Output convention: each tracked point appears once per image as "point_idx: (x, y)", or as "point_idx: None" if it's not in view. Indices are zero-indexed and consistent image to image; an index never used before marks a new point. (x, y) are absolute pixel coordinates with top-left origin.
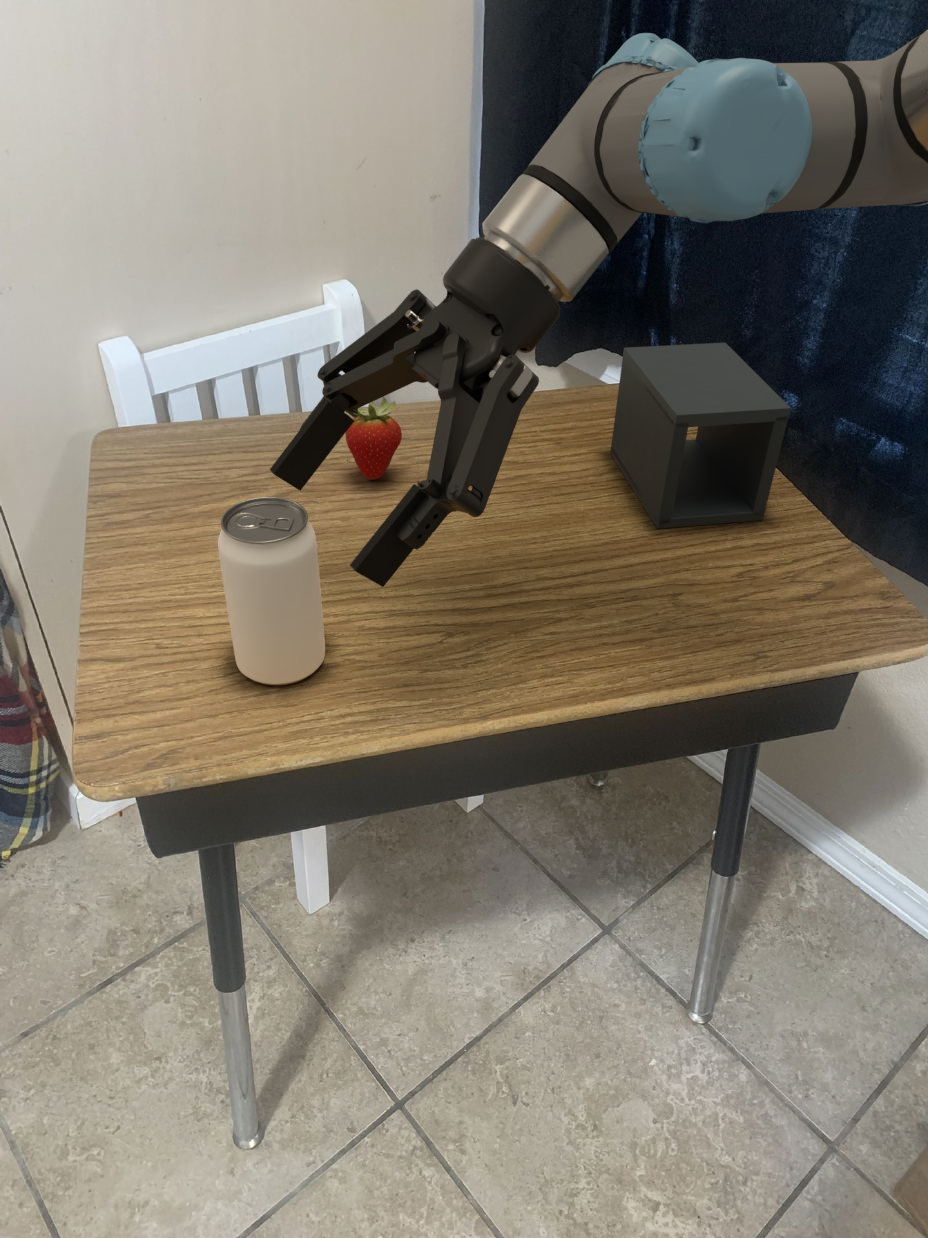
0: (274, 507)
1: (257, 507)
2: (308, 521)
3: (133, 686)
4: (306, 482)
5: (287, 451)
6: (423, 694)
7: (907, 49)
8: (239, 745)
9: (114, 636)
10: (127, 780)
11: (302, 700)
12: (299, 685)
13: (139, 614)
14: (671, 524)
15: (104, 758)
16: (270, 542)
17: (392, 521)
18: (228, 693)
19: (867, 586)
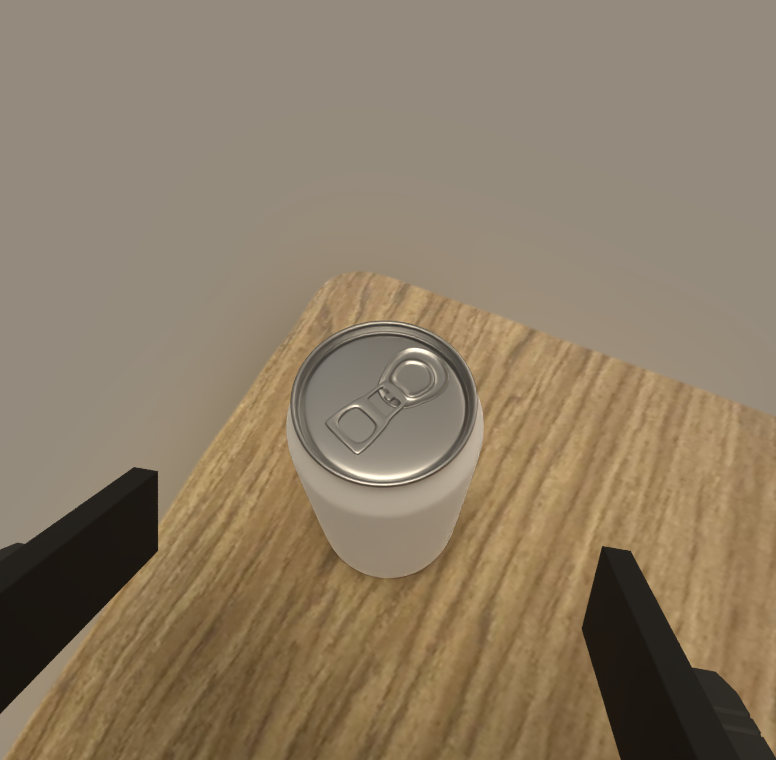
0: (428, 447)
1: (449, 418)
2: (351, 492)
3: (456, 347)
4: (587, 647)
5: (633, 590)
6: (175, 641)
7: None
8: (284, 391)
9: (565, 366)
10: (322, 291)
11: (295, 488)
12: None
13: (598, 408)
14: None
15: (366, 286)
16: (301, 366)
17: (42, 538)
18: None
19: None
